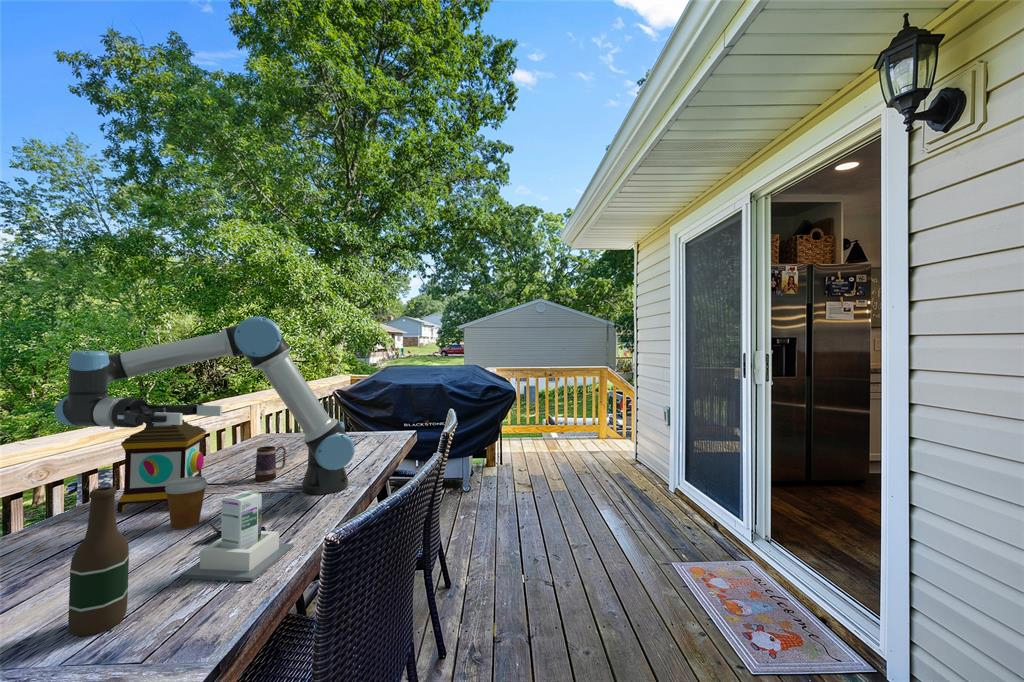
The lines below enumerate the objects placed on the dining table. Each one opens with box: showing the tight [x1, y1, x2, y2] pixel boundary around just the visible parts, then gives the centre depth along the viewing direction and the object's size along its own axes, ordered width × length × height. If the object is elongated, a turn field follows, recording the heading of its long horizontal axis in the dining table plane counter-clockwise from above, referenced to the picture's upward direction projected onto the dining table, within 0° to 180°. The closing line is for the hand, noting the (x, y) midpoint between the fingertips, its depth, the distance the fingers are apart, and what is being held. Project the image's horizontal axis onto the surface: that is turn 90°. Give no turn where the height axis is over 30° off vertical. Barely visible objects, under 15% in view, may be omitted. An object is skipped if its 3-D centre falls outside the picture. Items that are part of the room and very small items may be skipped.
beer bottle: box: [67, 486, 130, 638], centre depth 80 cm, size 8×8×24 cm
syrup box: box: [220, 490, 263, 549], centre depth 103 cm, size 6×6×14 cm
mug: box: [254, 444, 287, 483], centre depth 167 cm, size 10×7×12 cm
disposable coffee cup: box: [165, 476, 208, 530], centre depth 124 cm, size 10×10×12 cm
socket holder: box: [179, 530, 295, 582], centre depth 103 cm, size 16×16×5 cm
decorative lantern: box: [116, 419, 207, 514], centre depth 141 cm, size 20×20×30 cm
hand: (202, 414), depth 114 cm, fingers open, 13 cm apart
